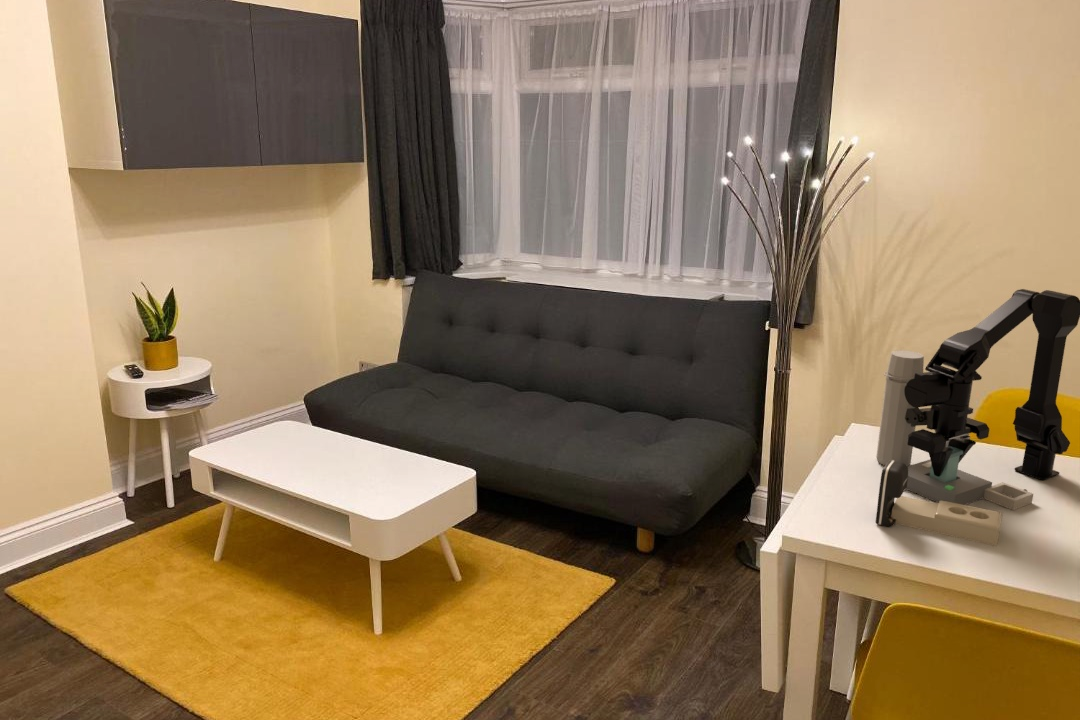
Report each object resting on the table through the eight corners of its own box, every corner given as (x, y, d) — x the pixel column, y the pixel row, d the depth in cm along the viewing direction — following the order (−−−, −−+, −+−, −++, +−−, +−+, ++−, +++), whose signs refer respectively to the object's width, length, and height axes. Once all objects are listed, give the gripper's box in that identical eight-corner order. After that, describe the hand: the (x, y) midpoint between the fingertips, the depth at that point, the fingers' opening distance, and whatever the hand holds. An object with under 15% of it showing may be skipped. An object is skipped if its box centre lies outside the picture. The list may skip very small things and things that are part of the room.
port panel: (928, 472, 187) (930, 457, 186) (989, 495, 175) (992, 480, 174) (892, 483, 181) (894, 468, 180) (953, 509, 169) (955, 493, 169)
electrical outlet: (898, 490, 169) (1002, 511, 160) (896, 509, 170) (998, 531, 161) (892, 504, 163) (999, 527, 154) (890, 524, 164) (996, 547, 155)
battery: (895, 530, 160) (903, 473, 157) (874, 525, 162) (881, 468, 159) (904, 516, 166) (911, 461, 163) (883, 511, 168) (890, 456, 165)
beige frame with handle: (1009, 488, 179) (1011, 479, 179) (1040, 499, 174) (1042, 490, 173) (982, 497, 174) (984, 488, 174) (1013, 510, 169) (1014, 500, 169)
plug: (938, 479, 181) (943, 443, 179) (957, 487, 177) (963, 450, 175) (925, 483, 179) (930, 447, 176) (944, 491, 175) (949, 454, 173)
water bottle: (917, 469, 188) (932, 359, 181) (881, 469, 188) (895, 358, 181) (900, 453, 197) (914, 347, 190) (866, 453, 197) (879, 347, 190)
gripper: (946, 384, 184) (936, 452, 189) (888, 397, 175) (879, 469, 179) (995, 398, 175) (984, 470, 179) (938, 413, 166) (927, 488, 170)
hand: (943, 473), depth 177 cm, fingers closed on plug, 3 cm apart
